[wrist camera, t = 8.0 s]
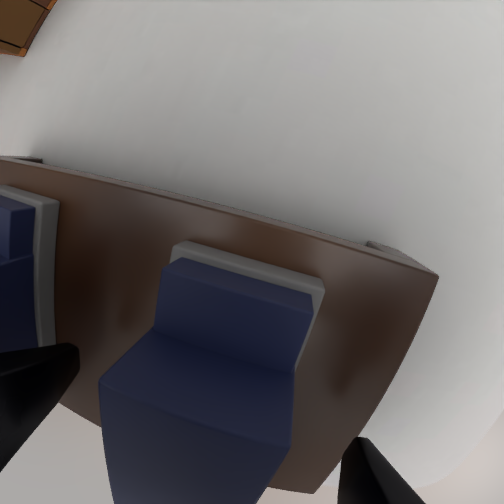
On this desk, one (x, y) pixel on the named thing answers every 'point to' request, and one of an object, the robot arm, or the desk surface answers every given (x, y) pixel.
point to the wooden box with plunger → (21, 23)
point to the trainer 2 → (208, 382)
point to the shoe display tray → (244, 244)
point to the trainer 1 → (27, 269)
